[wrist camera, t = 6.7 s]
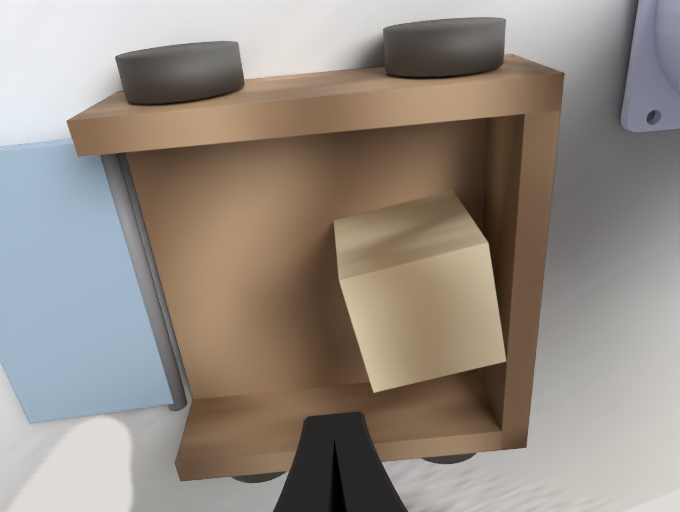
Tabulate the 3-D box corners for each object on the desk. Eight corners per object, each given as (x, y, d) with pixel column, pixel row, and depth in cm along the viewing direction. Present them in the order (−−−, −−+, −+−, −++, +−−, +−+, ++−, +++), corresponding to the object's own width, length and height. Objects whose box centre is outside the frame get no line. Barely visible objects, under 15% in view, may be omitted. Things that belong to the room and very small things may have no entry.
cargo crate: (452, 189, 20) (488, 242, 16) (470, 291, 22) (506, 361, 18) (333, 220, 20) (338, 280, 16) (362, 318, 22) (373, 392, 18)
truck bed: (514, 12, 18) (569, 20, 14) (491, 397, 25) (523, 471, 22) (107, 51, 18) (50, 70, 14) (206, 424, 25) (187, 504, 21)
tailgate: (103, 124, 18) (-100, 147, 17) (185, 410, 23) (33, 432, 23) (113, 116, 19) (-78, 137, 18) (189, 392, 24) (44, 412, 24)
